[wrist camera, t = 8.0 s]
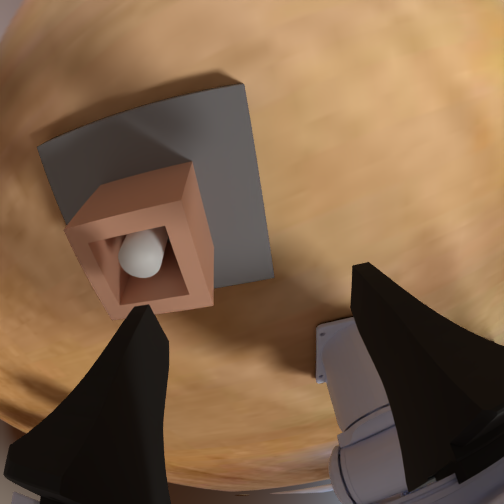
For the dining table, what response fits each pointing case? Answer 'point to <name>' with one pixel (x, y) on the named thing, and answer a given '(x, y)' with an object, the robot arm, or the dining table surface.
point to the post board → (168, 154)
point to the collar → (138, 219)
